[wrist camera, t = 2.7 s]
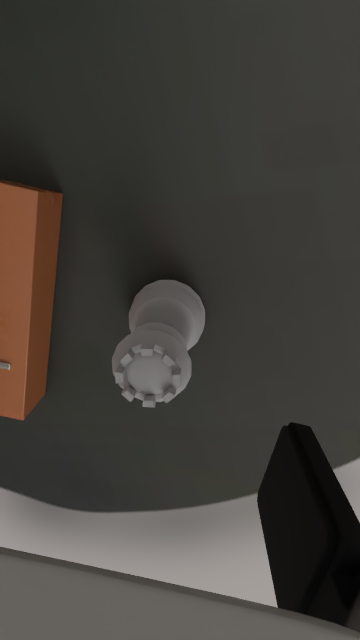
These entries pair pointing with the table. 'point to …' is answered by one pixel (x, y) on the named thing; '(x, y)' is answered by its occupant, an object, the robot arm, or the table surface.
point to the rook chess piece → (159, 342)
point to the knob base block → (26, 292)
